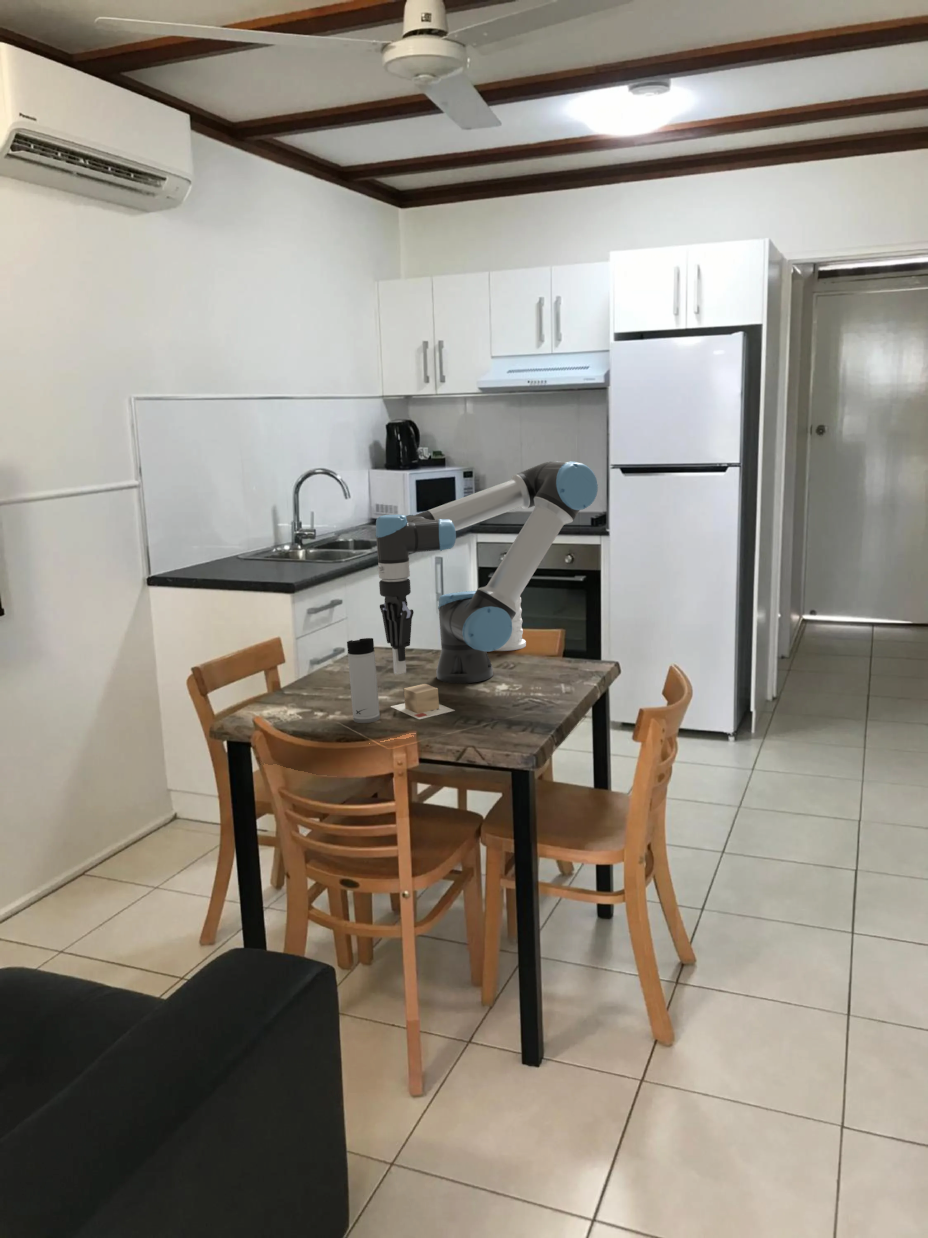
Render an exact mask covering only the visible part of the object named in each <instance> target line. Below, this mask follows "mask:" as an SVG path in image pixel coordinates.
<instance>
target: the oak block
mask: <svg viewBox="0 0 928 1238" xmlns="http://www.w3.org/2000/svg"><path fill="white" fill-rule="evenodd" d="M403 697H404V698H403V699H404V703H405V708H406V709H408V710H410V711H413V712H415V713H417V714H419V713H423V712H427V711H431V710H435V709H439V704H440V701H439V688H438V687H435V686H432V685H430V684H427V683H420V684H418V685H413V686H409V687H408V686H407V687H404V688H403Z"/></svg>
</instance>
